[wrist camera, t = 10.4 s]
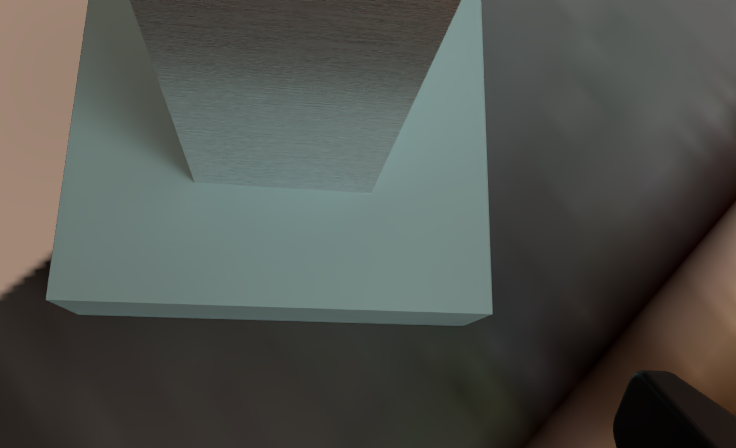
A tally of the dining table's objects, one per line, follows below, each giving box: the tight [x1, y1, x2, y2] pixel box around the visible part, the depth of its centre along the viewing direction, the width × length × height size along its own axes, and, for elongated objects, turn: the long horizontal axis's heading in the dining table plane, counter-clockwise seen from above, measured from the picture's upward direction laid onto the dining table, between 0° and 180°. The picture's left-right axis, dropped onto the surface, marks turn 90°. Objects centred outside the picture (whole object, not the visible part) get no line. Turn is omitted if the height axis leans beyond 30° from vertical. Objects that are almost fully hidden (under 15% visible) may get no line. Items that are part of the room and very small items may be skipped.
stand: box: [46, 0, 493, 326], centre depth 21 cm, size 12×12×3 cm
